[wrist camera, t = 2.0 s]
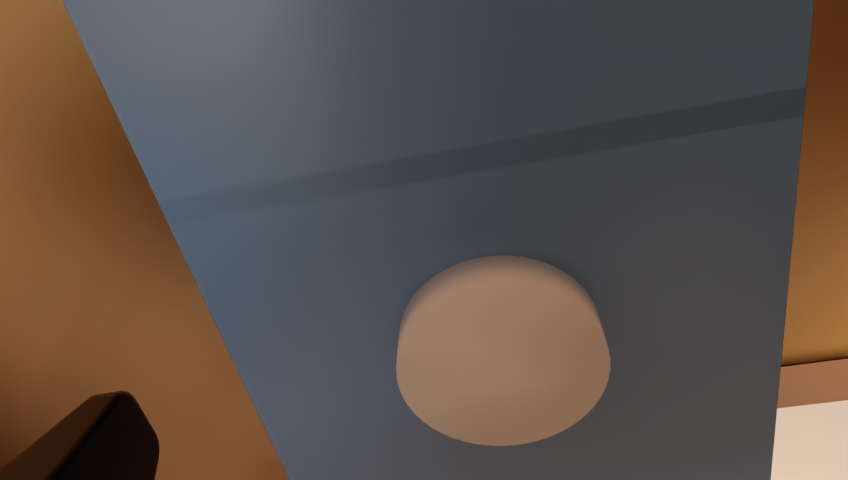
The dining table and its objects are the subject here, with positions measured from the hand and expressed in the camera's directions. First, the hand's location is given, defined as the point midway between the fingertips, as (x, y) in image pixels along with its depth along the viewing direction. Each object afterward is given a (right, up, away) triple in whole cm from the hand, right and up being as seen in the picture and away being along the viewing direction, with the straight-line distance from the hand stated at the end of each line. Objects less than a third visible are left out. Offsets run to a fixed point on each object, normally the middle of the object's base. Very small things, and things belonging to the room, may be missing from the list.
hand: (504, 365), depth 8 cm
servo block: (0, +2, +4) cm, 4 cm away
